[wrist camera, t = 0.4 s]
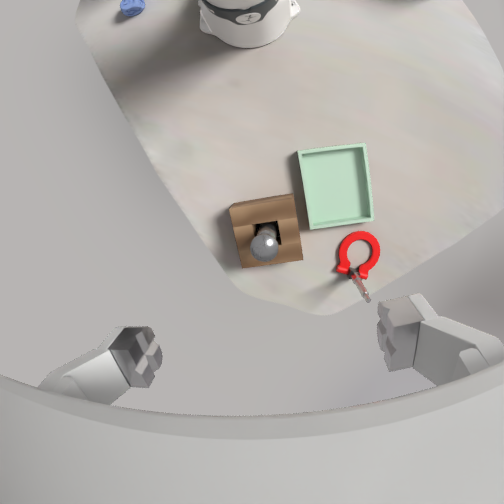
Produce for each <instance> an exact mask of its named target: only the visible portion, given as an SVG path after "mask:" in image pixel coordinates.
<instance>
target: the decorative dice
mask: <svg viewBox="0 0 504 504" xmlns="http://www.w3.org/2000/svg"><path fill="white" fill-rule="evenodd" d="M120 8H121V11H122V13H123V14H124V15H126V16H134V15H137V14H139V13H140V12H142V11H143V9H144V8H145V2H144V0H122V2H121V4H120Z"/></svg>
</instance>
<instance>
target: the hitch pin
mask: <svg viewBox="0 0 504 504" xmlns="http://www.w3.org/2000/svg"><path fill="white" fill-rule="evenodd" d="M276 234H277V223H276V222H275V221H271V222H265V223H261V224H260V227H259V230H258V234H257V236H256V237H254V239H253V240H252V242H251V245H250V251H251V254H252V256H253V257H254V258H255V259H257V260H258V261H262V262H268V261H271V260H272V259H274V258H275V257H276V255H277V253H278V242H277V240H276Z"/></svg>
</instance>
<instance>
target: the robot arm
mask: <svg viewBox="0 0 504 504" xmlns="http://www.w3.org/2000/svg"><path fill="white" fill-rule="evenodd" d="M291 4H292V5H293V6H291ZM198 5H199V6H201V9H200V29H201V31H202V32H204V33H207V34H212V35H215V36H217V37H218V38H220V39H221V40H222V41H224V42H225V43H227V44H230V45H232V46H236V47H241V48H254V47H260V46H263V45H266V44H269V43H271V42H273V41H274V40H276V39H277V38H278V37H280V36H281V35H282V33H283V32H284V31H285V29H286V28H287V26H288V24H289V22H290V21H291V20H292V19H293V18H295V17H296V16H297V15H298V14H299V13H300V7H299V6H298V4H297V2H296V1H295V0H198ZM378 315H379V317H380V321H379V322H378V324H377V336H378V342H379V346H380V349H381V350H382V351H384V352H385V355H384V360H385V362H386V364H387V367H388V370H389V372H391V371H396V370H401V369H405V368H410V367H413V369H415V370H416V371H418V372H419V373H420V374H422V375H423V376H424V377H426V378H427V379H429V380H430V381H431V382H433V383H434V384H436V385H437V386H436V387H432V388H429V389H425V390H422V391H419V392H415V393H411V394H407V395H403V396H399V397H395V398H391V399H387V400H382V401H377V402H373V403H367V404H362V405H356V406H350V407H344V408H337V409H331V410H322V411H314V412H304V413H293V414H279V415H258V416H206V415H187V414H173V413H162V412H153V411H145V410H137V409H130V408H124V407H117V406H111V405H110V404H112V403H113V402H114V401H115V400H116V399H118V398H119V397H120V396H121V395H123V394H124V393H125V392H126V391H127V390H128V389H130V387H139V388H149V386H150V385H151V383H152V381H153V379H154V377H155V375H154V372H155V371H156V370H157V369H159V368H160V366H161V364H162V351H161V349H160V346H159V345H158V344H157V343H156V342H155V341H154V337H155V335H154V333H153V331H152V329H151V328H150V327H148V326H145V327H144V326H142V327H126V326H125V327H116V328H114V329H113V330H112V332H111V333H110V334H109V335H108V336H107V338H106V339H105V340H104V341H103V342H102V343H101V345H100V346H99V347H98V348H97V349H93V350H91V351H90V352H88V353H86V354H84V355H82V356H80V357H78V358H76V359H74V360H73V361H71V362H69V363H67V364H65V365H63V366H61V367H59V368H58V369H56V370H54V371H52V372H50V373H49V375H48V376H47V377H46V378H45V379H44V380H43V381H42V383H41V384H40V385H39V386H38V387H34V386H31V385H28V384H25V383H22V382H19V381H16V380H13V379H11V378H8V377H5V376H3V375H0V504H504V345H503V344H502V343H501V341H500V340H499V339H498V338H497V337H495V336H492V335H490V334H487V333H485V332H482V331H480V330H477V329H474V328H472V327H469V326H467V325H464V324H462V323H459V322H456V321H454V320H451V319H449V318H446V317H443V316H442V317H438V315H437V314H436V313H435V311H434V310H433V309H432V307H431V306H430V305H429V304H428V302H427V301H426V300H425V299H424V297H423V296H422V295H421V294H420V293H416V294H412V295H408V296H405V297H401V298H396V299H391V300H386V301H382V302H379V303H378Z"/></svg>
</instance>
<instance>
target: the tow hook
mask: <svg viewBox="0 0 504 504" xmlns="http://www.w3.org/2000/svg"><path fill="white" fill-rule="evenodd" d="M359 239H363V240H366V241H368V242H369V243H370V244H371V246H372V255H371V257H370V259H369V260H368V261H367V262H366V263H364V264H362V265H360V267H359V269H354V268H350V267H349V266H350V262H349V260H348V258H347V250H348V247H349V246H350V244H351V243H352V242H354V241H356V240H359ZM379 256H380V246H379V243H378V241H377V239H376V238H375V237H374V236H373V235H372V234H370V233H368V232H365V231H356V232H353V233H351V234H349V235H348V236H347V237H346V238H345V239H344V240H343V241H342V243H341V245H340V248H339V259H340V263H339V265H338V266H337V268H336V272H340V273H343V274H346V275H347V276H348V278H349V279H352V281H353V283H354V284H355V285H356V286H357V288H358V290H359V291H360V293H361V295H362V297H363V298H365V300H366V302H367V303H369V302H370V301H371V299H370V298H369V296H368V295H369V294H368V292H367V290H366V288H365V287H364V285H363V283H362V282H361V278H362V279H365V280H366V279H367V277H368V271H369V270H370V269H371V268H372V267H373V266H374V265H375V264H376V263H377V261H378V259H379Z"/></svg>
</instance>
